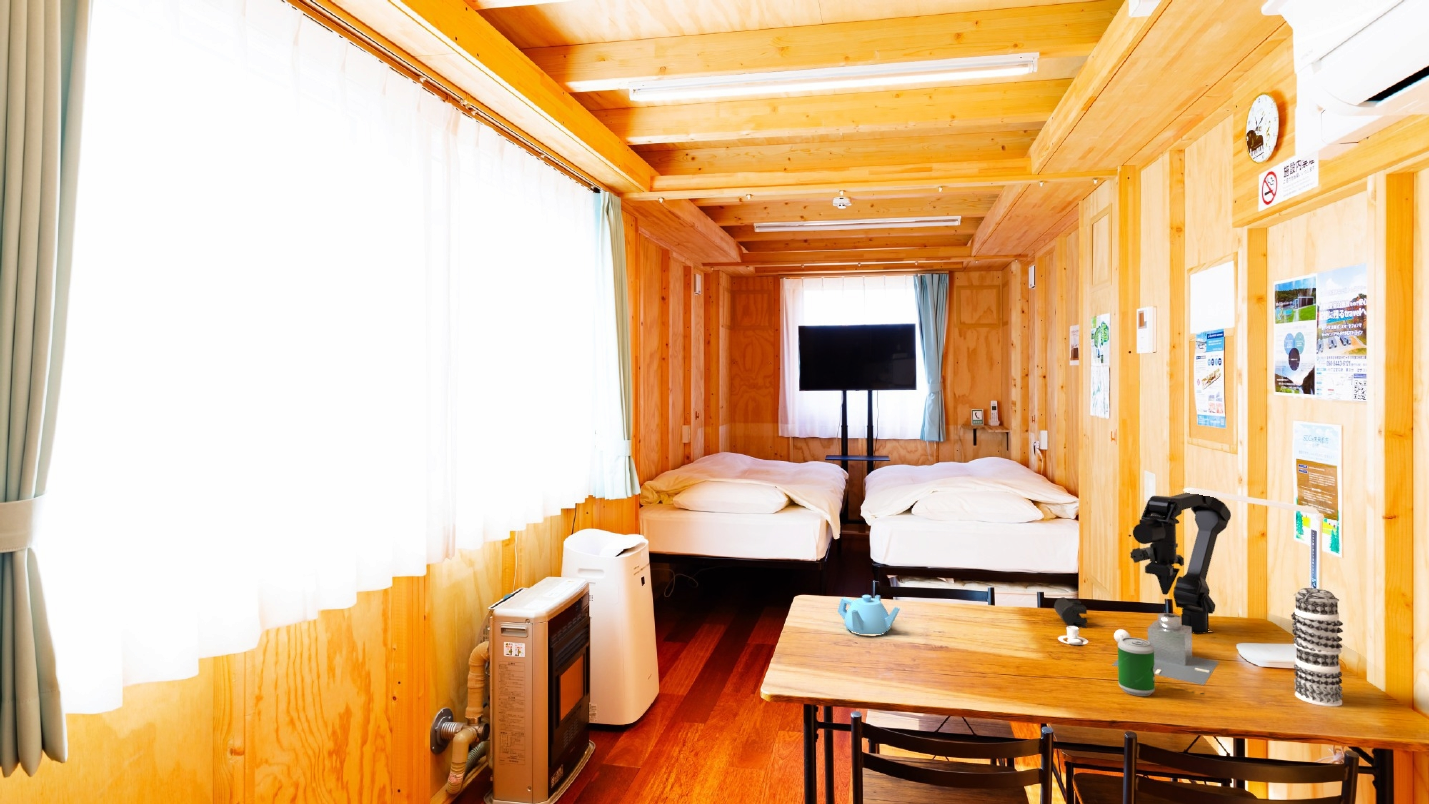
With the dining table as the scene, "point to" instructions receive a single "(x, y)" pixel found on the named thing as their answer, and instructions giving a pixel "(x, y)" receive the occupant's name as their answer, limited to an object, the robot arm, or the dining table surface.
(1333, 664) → the decorative candle
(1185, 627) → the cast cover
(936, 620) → the dining table surface
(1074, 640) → the teacup and saucer
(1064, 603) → the end cap
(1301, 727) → the dining table surface
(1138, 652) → the soda can
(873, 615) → the teapot
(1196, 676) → the turntable plate
